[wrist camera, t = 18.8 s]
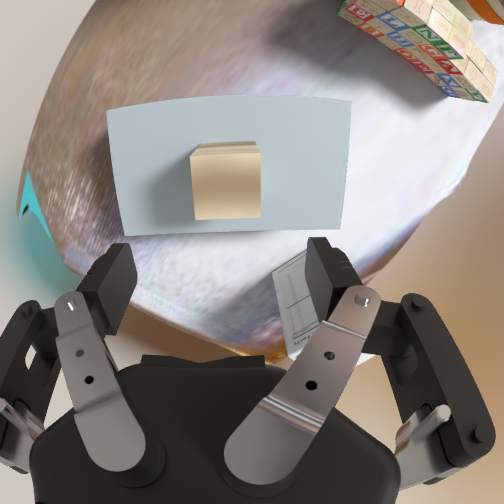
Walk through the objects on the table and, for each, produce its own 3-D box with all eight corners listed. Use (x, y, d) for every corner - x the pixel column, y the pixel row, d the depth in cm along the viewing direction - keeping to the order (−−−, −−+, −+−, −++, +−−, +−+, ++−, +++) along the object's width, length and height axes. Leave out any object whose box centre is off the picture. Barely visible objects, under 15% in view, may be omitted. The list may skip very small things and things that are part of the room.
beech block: (201, 143, 25) (189, 155, 19) (254, 140, 25) (260, 152, 19) (204, 192, 27) (195, 220, 21) (255, 190, 27) (260, 217, 21)
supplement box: (299, 305, 48) (319, 386, 34) (269, 272, 44) (283, 358, 30) (346, 276, 46) (383, 353, 31) (321, 239, 41) (359, 317, 27)
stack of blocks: (459, 69, 27) (514, 75, 16) (448, 97, 29) (504, 109, 19) (349, -14, 21) (391, -45, 11) (334, 15, 24) (375, -13, 14)
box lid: (110, 110, 23) (106, 110, 22) (347, 101, 24) (351, 101, 23) (127, 232, 30) (124, 236, 29) (337, 225, 31) (340, 229, 30)
